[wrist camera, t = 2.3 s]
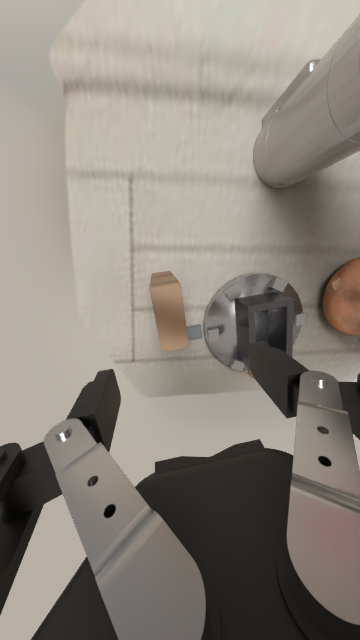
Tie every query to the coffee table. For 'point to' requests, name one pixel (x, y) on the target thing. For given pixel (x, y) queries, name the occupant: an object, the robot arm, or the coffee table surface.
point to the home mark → (194, 332)
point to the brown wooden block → (169, 311)
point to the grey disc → (252, 318)
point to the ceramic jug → (344, 299)
